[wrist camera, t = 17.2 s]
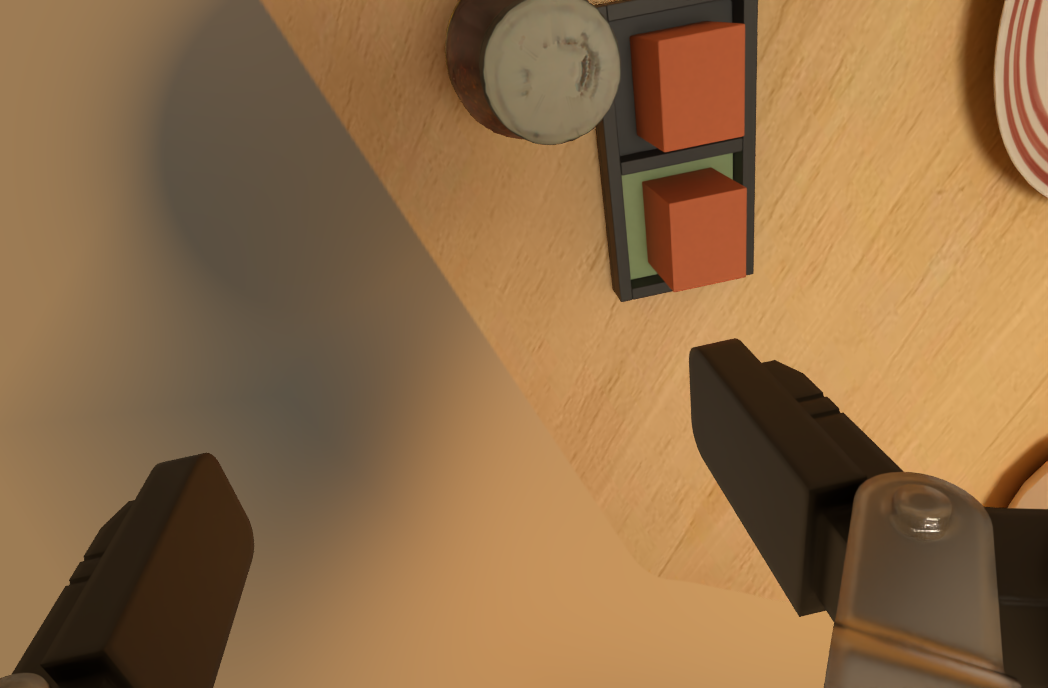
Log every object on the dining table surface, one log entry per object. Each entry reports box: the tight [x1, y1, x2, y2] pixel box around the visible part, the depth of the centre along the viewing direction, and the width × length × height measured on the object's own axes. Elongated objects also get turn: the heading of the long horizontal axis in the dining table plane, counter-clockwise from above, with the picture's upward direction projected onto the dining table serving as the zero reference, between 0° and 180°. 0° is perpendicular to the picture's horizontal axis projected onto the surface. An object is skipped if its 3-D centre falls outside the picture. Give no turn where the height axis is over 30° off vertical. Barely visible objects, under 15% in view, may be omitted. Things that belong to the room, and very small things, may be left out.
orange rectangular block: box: [630, 21, 745, 152], centre depth 35 cm, size 4×6×5 cm
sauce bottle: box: [445, 0, 621, 145], centre depth 26 cm, size 7×6×20 cm
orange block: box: [642, 168, 747, 292], centre depth 38 cm, size 4×6×5 cm
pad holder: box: [594, 0, 758, 302], centre depth 38 cm, size 9×17×2 cm, turn 10°
